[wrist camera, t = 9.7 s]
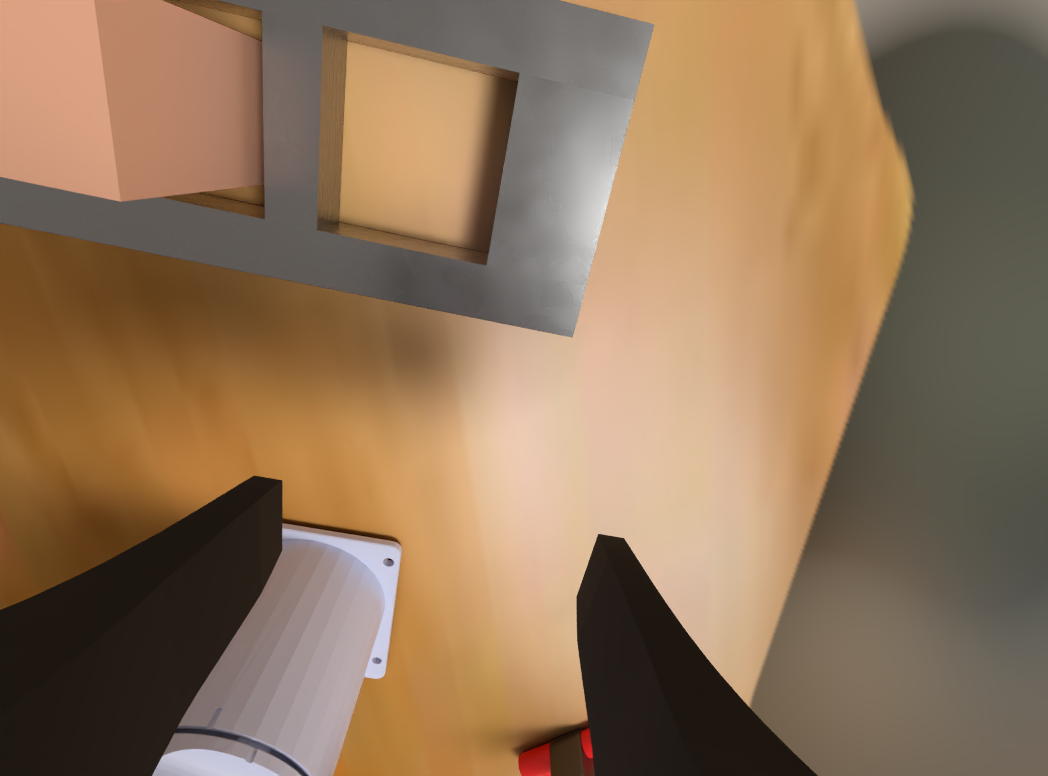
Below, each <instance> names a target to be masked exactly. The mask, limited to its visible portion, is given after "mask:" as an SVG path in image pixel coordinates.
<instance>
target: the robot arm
mask: <svg viewBox="0 0 1048 776" xmlns="http://www.w3.org/2000/svg"><path fill="white" fill-rule="evenodd" d="M401 554H402V547H401V546H400V545H399V544H398V543H397V542H394V541H389V540H383V539H377V538H371V537H365V536H358V535H352V534H346V533H340V532H334V531H328V530H322V529H315V528H309V527H303V526H297V525H291V524H285V523H282V480H277V479H271V478H265V477H259V476H253V477H251V478H249V479H248V480H246V481H244V482H243V483H241V484H239V485H238V486H236V487H234V488H233V489H231V490H230V491H228V492H226V493H225V494H223V495H221V496H220V497H218V498H216V499H215V500H213V501H212V502H210V503H208V504H207V505H205V506H203V507H202V508H200V509H198V510H197V511H195V512H194V513H192V514H190V515H188V516H187V517H185V518H183V519H182V520H180V521H178V522H177V523H175V524H173V525H172V526H170V527H168V528H166V529H165V530H163V531H161V532H160V533H158V534H156V535H154V536H152V537H150V538H149V539H147V540H145V541H143V542H141V543H139V544H138V545H136V546H134V547H132V548H130V549H128V550H127V551H125V552H123V553H121V554H119V555H117V556H116V557H114V558H112V559H110V560H108V561H106V562H104V563H102V564H100V565H98V566H96V567H94V568H92V569H90V570H88V571H86V572H84V573H82V574H80V575H78V576H76V577H74V578H72V579H70V580H68V581H65V582H63V583H61V584H59V585H57V586H55V587H52V588H50V589H48V590H46V591H44V592H42V593H40V594H37V595H35V596H33V597H31V598H28V599H26V600H24V601H21V602H19V603H16V604H14V605H12V606H9V607H7V608H4V609H2V610H0V776H333V775H334V771H335V768H336V765H337V762H338V759H339V756H340V752H341V749H342V746H343V743H344V740H345V737H346V733H347V730H348V727H349V724H350V721H351V717H352V714H353V711H354V708H355V705H356V702H357V698H358V695H359V692H360V689H361V686H362V683H363V679H364V677H368V678H375V679H378V678H381V677H383V676H384V674H385V671H386V667H387V660H388V652H389V645H390V637H391V630H392V622H393V615H394V607H395V599H396V592H397V584H398V577H399V569H400V562H401ZM386 558H390V559H392V560H388V559H386ZM577 642H578V650H579V657H580V665H581V672H582V680H583V687H584V694H585V701H586V709H587V716H588V723H589V730H590V737H591V744H592V753H593V763H594V774H595V776H817V775H816V774H815V773H814V772H813V771H812V770H811V769H810V768H809V767H808V766H807V765H806V764H805V763H804V762H803V761H802V760H801V759H800V758H798V757H797V756H796V755H795V754H794V753H793V752H792V751H791V750H790V749H789V748H788V747H787V746H786V745H785V744H784V743H783V742H782V741H781V740H780V739H779V738H778V737H777V736H776V735H775V734H774V733H773V732H772V731H771V730H770V729H769V728H768V727H767V726H766V725H765V724H764V723H763V722H762V720H761V719H760V718H759V717H758V716H757V715H756V714H755V713H754V712H753V711H752V710H751V709H750V708H749V707H748V706H747V704H746V703H745V702H744V701H743V700H742V699H741V698H740V696H739V695H738V694H737V693H736V692H735V691H734V690H733V689H732V687H731V686H730V685H729V684H728V683H727V682H726V681H725V679H724V678H723V677H722V676H721V675H720V674H719V672H718V671H717V670H716V669H715V668H714V666H713V665H712V664H711V663H710V662H709V660H708V659H707V658H706V656H705V655H704V654H703V653H702V651H701V650H700V649H699V647H698V646H697V645H696V643H695V642H694V641H693V640H692V638H691V637H690V636H689V634H688V633H687V632H686V630H685V629H684V628H683V626H682V625H681V624H680V622H679V621H678V619H677V618H676V616H675V615H674V614H673V612H672V611H671V609H670V608H669V606H668V605H667V604H666V602H665V601H664V599H663V598H662V596H661V595H660V593H659V592H658V590H657V589H656V587H655V586H654V584H653V583H652V581H651V580H650V578H649V576H648V575H647V573H646V572H645V570H644V569H643V567H642V566H641V564H640V562H639V561H638V559H637V558H636V556H635V555H634V553H633V552H632V550H631V548H630V547H629V545H628V544H627V542H626V541H625V539H624V538H619V537H613V536H607V535H601V534H598V537H597V540H596V542H595V545H594V548H593V551H592V554H591V557H590V560H589V563H588V566H587V568H586V571H585V574H584V577H583V580H582V583H581V586H580V589H579V592H578V594H577Z"/></svg>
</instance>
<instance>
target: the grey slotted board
mask: <svg viewBox="0 0 1048 776" xmlns="http://www.w3.org/2000/svg"><path fill="white" fill-rule="evenodd" d="M179 1H183V2H187V3H192V4H196V5H200V6H204V7H208V8H213V9H217V10H221V11H225V12H229V13H233V14H238V15H242V16H246V17H250V18H254V19H258V20H262V59H263V127H264V196H265V207H264V206H259V205H254V204H250V203H245V202H240V201H235V200H231V199H226V198H221V197H216V196H212V195H207V194H202V193H189V194H181V195H173V196H164V197H156V198H147V199H139V200H131V201H122V202H120V201H115V200H110V199H105V198H101V197H96V196H91V195H86V194H81V193H76V192H71V191H67V190H62V189H57V188H52V187H47V186H42V185H37V184H33V183H28V182H23V181H18V180H13V179H8V178H4V177H0V223H3V224H8V225H13V226H18V227H23V228H28V229H33V230H38V231H43V232H48V233H53V234H58V235H63V236H68V237H73V238H78V239H83V240H88V241H93V242H98V243H103V244H108V245H113V246H118V247H123V248H128V249H133V250H138V251H143V252H148V253H153V254H158V255H163V256H168V257H173V258H178V259H183V260H188V261H193V262H198V263H203V264H208V265H213V266H218V267H223V268H228V269H233V270H238V271H243V272H248V273H253V274H258V275H263V276H268V277H273V278H278V279H283V280H288V281H293V282H298V283H303V284H308V285H313V286H318V287H323V288H328V289H333V290H338V291H343V292H348V293H353V294H358V295H363V296H368V297H373V298H378V299H383V300H388V301H393V302H398V303H403V304H408V305H413V306H418V307H423V308H428V309H433V310H438V311H443V312H448V313H453V314H458V315H463V316H468V317H473V318H478V319H483V320H488V321H493V322H498V323H503V324H508V325H513V326H518V327H523V328H528V329H533V330H538V331H543V332H548V333H553V334H558V335H563V336H568V337H573V334H574V330H575V326H576V322H577V319H578V315H579V311H580V307H581V303H582V299H583V296H584V292H585V288H586V284H587V280H588V276H589V273H590V269H591V265H592V261H593V257H594V254H595V250H596V246H597V242H598V238H599V234H600V231H601V227H602V223H603V219H604V215H605V211H606V208H607V204H608V200H609V196H610V192H611V189H612V185H613V181H614V177H615V173H616V169H617V166H618V162H619V158H620V154H621V150H622V146H623V143H624V139H625V135H626V131H627V127H628V124H629V120H630V116H631V112H632V108H633V104H634V101H635V97H636V93H637V89H638V85H639V81H640V78H641V74H642V70H643V66H644V62H645V58H646V55H647V51H648V47H649V43H650V39H651V36H652V32H653V28H654V24H650V23H646V22H642V21H639V20H635V19H631V18H627V17H623V16H619V15H615V14H611V13H607V12H603V11H599V10H595V9H591V8H587V7H583V6H579V5H575V4H572V3H568V2H564V1H560V0H179ZM347 41H350V42H355V43H359V44H363V45H367V46H371V47H376V48H380V49H384V50H388V51H392V52H396V53H401V54H405V55H409V56H413V57H417V58H422V59H426V60H430V61H434V62H438V63H442V64H447V65H451V66H455V67H459V68H463V69H468V70H472V71H476V72H480V73H484V74H488V75H493V76H497V77H501V78H505V79H509V80H514V81H518V86H517V92H516V98H515V104H514V109H513V115H512V121H511V127H510V133H509V138H508V144H507V150H506V156H505V162H504V167H503V173H502V179H501V185H500V191H499V196H498V202H497V208H496V214H495V219H494V225H493V231H492V237H491V243H490V248H489V254H487V253H482V252H477V251H473V250H468V249H463V248H458V247H454V246H449V245H444V244H439V243H435V242H430V241H425V240H420V239H416V238H411V237H406V236H401V235H397V234H392V233H387V232H382V231H378V230H373V229H368V228H363V227H359V226H354V225H349V224H345V223H340V222H339V208H340V187H341V165H342V143H343V121H344V99H345V78H346V56H347Z"/></svg>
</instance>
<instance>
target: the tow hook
mask: <svg viewBox="0 0 1048 776" xmlns="http://www.w3.org/2000/svg"><path fill="white" fill-rule="evenodd" d="M518 763H519V770H520V773H521V775H522V776H595V774H594V763H593V753H592V744H591V737H590V730H589V728H588V729H585V730H583V729H579V730H576V731H574V732H571V733H568V734H566V735H563V736H560V737H557V738H555V739H553V740H552V741H551V742H550V743H547V744H545V745H542V746H539V747H537V748H534V749H531V750H528V751H526V752H523V753H521V754H520V755H519V760H518Z"/></svg>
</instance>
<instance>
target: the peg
mask: <svg viewBox="0 0 1048 776" xmlns="http://www.w3.org/2000/svg"><path fill="white" fill-rule="evenodd" d="M0 177H4V178H8V179H13V180H18V181H23V182H28V183H33V184H37V185H42V186H47V187H52V188H57V189H62V190H67V191H71V192H76V193H81V194H86V195H91V196H96V197H101V198H105V199H110V200H115V201H120V202H122V201H131V200H139V199H147V198H156V197H164V196H173V195H181V194H189V193H198V192H206V191H215V190H223V189H231V188H240V187H248V186H257V185H264V127H263V59H262V41H259V40H257V39H254V38H252V37H250V36H247V35H245V34H242V33H240V32H238V31H235V30H233V29H230V28H228V27H226V26H223V25H221V24H218V23H216V22H214V21H211V20H209V19H206V18H204V17H202V16H199V15H197V14H194V13H192V12H190V11H187V10H185V9H182V8H180V7H177V6H175V5H173V4H170V3H168V2H165V1H163V0H0Z"/></svg>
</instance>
